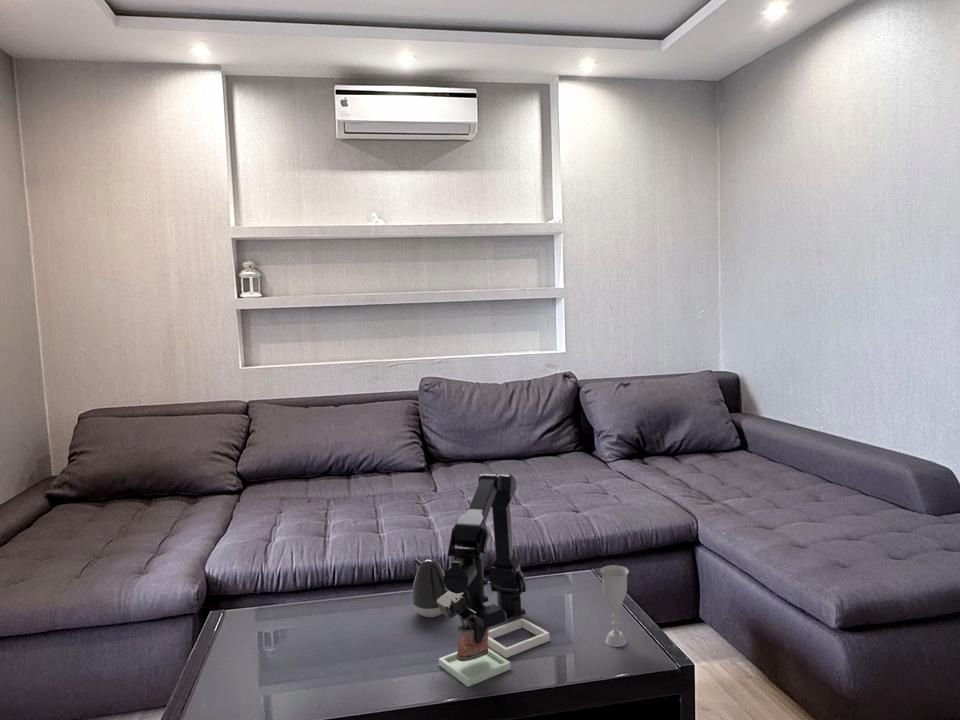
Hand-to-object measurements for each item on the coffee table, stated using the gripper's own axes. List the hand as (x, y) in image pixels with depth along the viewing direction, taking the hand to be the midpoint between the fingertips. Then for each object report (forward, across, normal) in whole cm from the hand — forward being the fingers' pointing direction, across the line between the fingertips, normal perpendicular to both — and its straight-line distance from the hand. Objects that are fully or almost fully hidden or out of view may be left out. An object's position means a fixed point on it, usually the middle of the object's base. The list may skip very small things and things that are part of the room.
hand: (473, 640), depth 164 cm
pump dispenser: (+7, -31, +7) cm, 32 cm away
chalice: (+7, +12, +34) cm, 37 cm away
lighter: (+4, -1, 0) cm, 4 cm away
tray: (+6, 0, 0) cm, 6 cm away
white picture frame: (+6, -4, +15) cm, 17 cm away
